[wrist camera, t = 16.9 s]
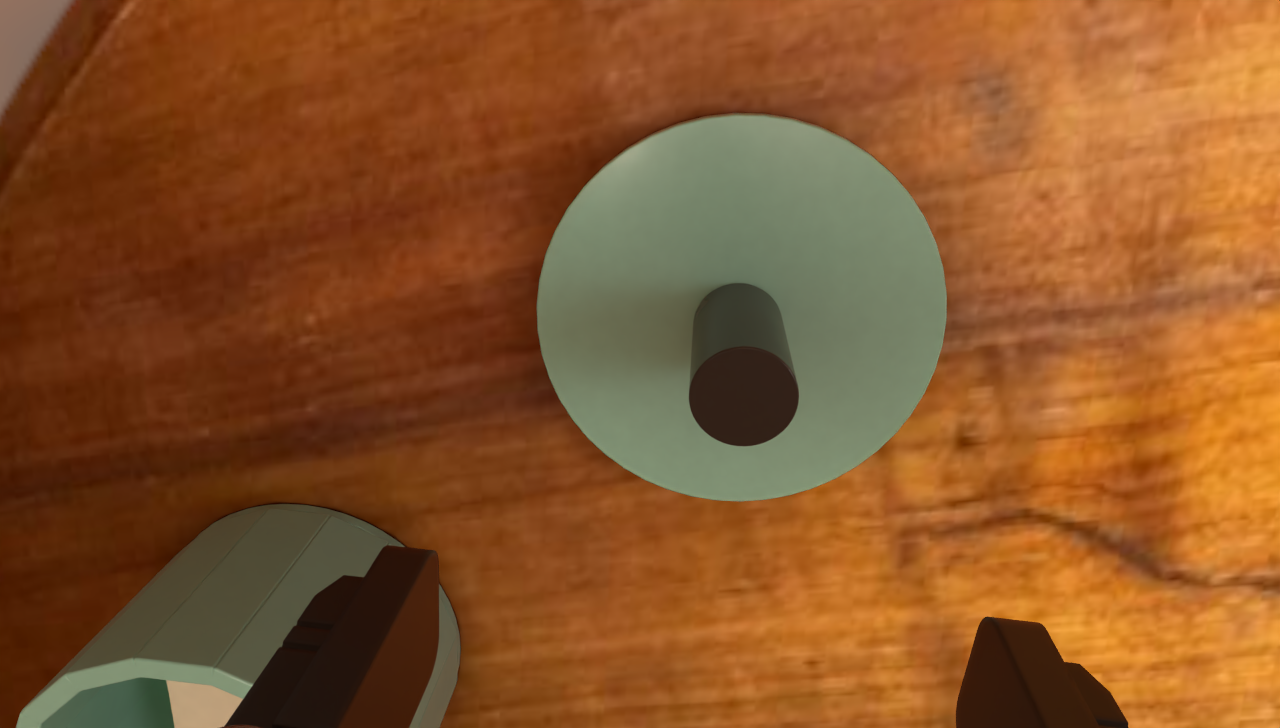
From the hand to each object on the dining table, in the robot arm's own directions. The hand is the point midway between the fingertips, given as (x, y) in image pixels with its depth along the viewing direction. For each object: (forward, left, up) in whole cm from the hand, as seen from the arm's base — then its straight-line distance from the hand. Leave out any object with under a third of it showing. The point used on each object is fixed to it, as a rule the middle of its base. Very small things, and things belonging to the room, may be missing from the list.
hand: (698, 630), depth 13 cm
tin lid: (+1, +1, -12) cm, 12 cm away
